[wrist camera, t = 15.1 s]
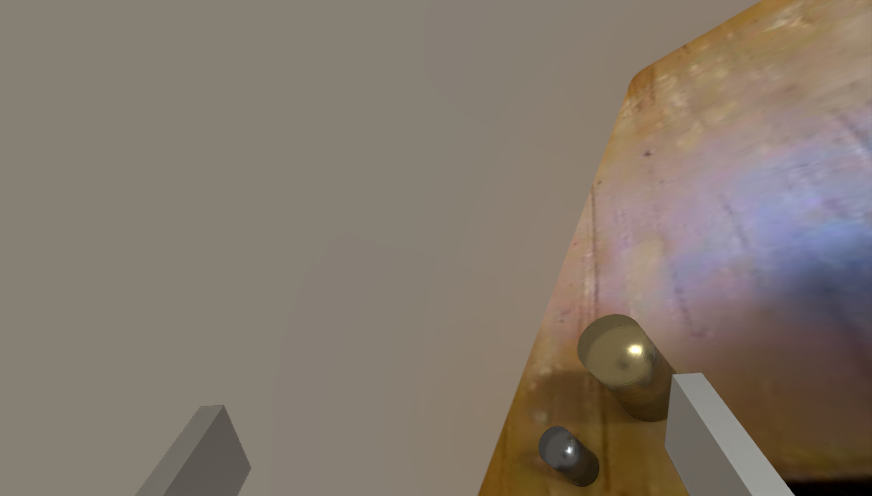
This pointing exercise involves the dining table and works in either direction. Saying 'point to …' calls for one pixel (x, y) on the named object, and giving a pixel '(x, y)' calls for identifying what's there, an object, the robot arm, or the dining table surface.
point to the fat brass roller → (628, 366)
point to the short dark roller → (569, 456)
